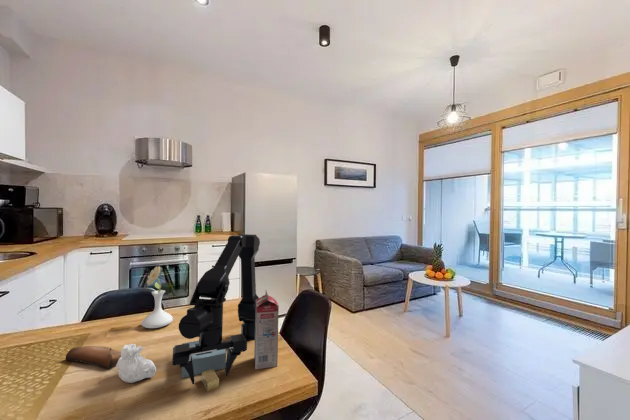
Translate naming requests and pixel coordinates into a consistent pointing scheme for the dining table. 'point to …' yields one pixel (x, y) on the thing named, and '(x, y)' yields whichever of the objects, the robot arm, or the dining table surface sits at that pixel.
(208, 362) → the blue-grey hollow frame
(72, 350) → the sunglasses case
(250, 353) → the dining table surface
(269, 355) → the juice carton
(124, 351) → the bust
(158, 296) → the flower in vase
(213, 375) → the tan wooden post
